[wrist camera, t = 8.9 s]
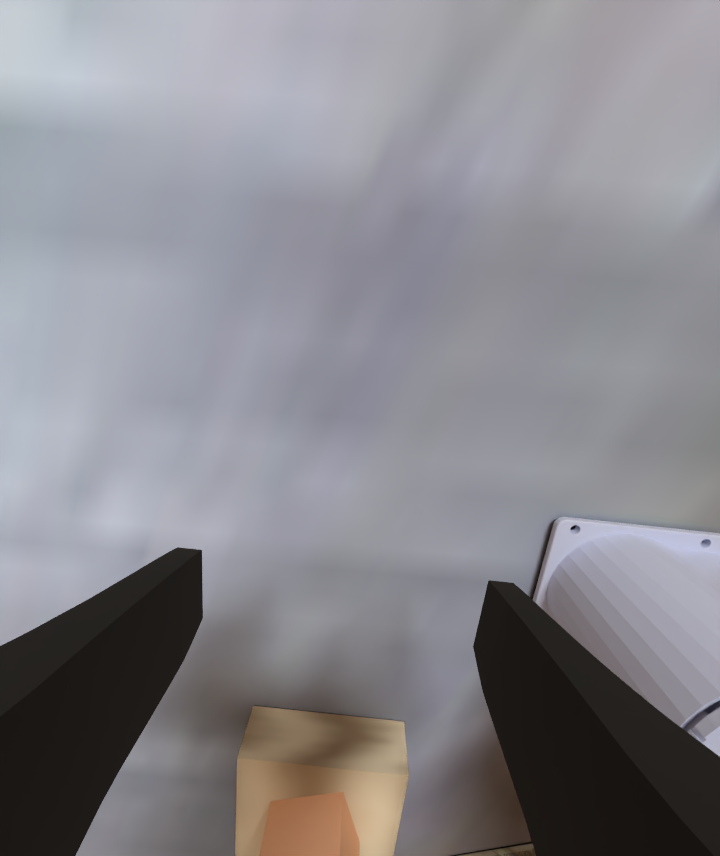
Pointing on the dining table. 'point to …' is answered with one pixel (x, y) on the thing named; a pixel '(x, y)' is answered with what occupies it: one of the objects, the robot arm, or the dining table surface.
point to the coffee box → (507, 851)
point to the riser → (322, 772)
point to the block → (310, 827)
